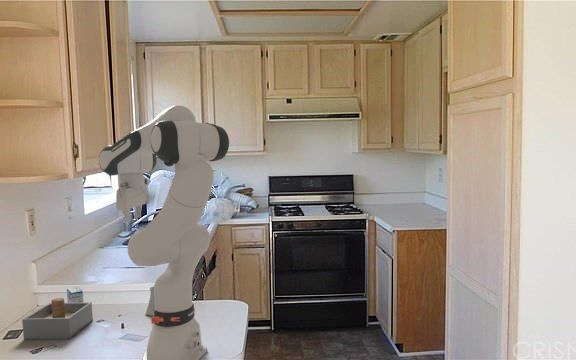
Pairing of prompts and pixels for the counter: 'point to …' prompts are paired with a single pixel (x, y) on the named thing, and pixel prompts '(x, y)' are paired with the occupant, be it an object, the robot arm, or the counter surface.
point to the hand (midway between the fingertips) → (133, 219)
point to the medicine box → (74, 295)
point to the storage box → (57, 322)
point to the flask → (151, 303)
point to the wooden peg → (58, 308)
